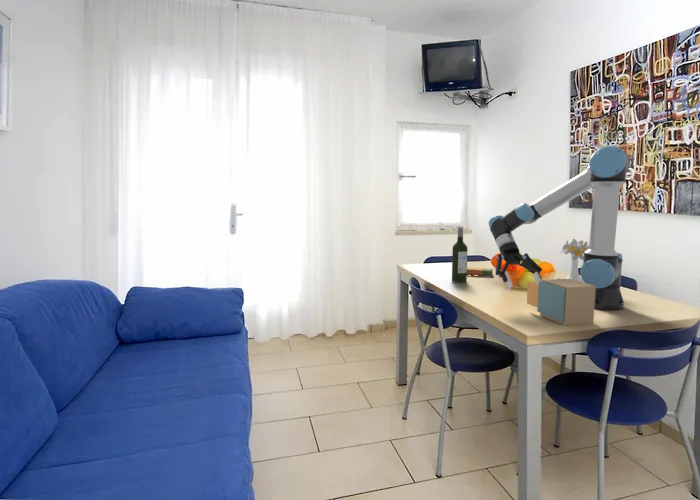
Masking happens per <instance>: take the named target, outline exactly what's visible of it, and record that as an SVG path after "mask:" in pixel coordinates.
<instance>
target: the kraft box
mask: <svg viewBox="0 0 700 500" xmlns="http://www.w3.org/2000/svg"><path fill="white" fill-rule="evenodd" d="M541 281H542V282H545V283H548V284H551V285H555V286H558V287H561V288H564V289H565V303H564V320H563V322H561V321H559V320H556V319H554V318H552V317H549V316H547V315H545V314H542V313H540V312H539V316H541V317H543V318H546V319H548V320H551V321H553V322H555V323H557V324H560V325H562V326H573V325H575V326H576V325H591V324H594V319H595V318H594V317H595V308H594V306H595V291H596V286H595V285H591V284H587V283H585V282H584V283H583V282H580V281H576V280H572V279H565V278H555V279H554V278H553V279H552V278H551V279H541Z"/></svg>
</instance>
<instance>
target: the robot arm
mask: <svg viewBox="0 0 700 500" xmlns="http://www.w3.org/2000/svg"><path fill="white" fill-rule="evenodd" d="M630 165H631V159H630V156H629V154H628V153H627V151H624V150H623V149H622V148H621V147H619V146H616V145H615V146H614V145H607V146H603V147H600V148H599V149H597V150H595V151H594V152H593V153H592V155H591V157H590V158H589V161H588V166H587V168H586V170H584V171H582V172H581V173H579V174H578V175H576V176H575V177H573V178H571V179H569V180H567V181H566V182H564V183H563V184H561V185H560V186H558V187H556V188H555V189H553V190H551V191H549V192H548V193H546V194H545V195H543V196H541V197H540V198H537V200H535V201H533V202H532V203H529V204H527V202H523V203H521V204H519V205H518V206H516V207H515V208H514V209H512V210H511V211H510V212H508V213H506V215H504V216H503V215H501V214H498V215H496V216H493V217H491V218H490V219H489V220H488V227H489V231H490V233H491V234H492V236H493V238H494V242H495V243H496V246H497V248H498V250H499V253H498V254H497V256H496V257H495V259H496V265H495V276H498V277H499V278H501V280H502V282H503V283H505V285H506V288H507V290H508V291H511V290H512V289H513V287H514V286H513V283H512V281H511V279H510V276H509V274H508V273H507V272H506V271H507V269H508V267H509V265H510V266H513V265H514V266H519V267H523V268H524V269H525V270H526V271H528V272H530V273H531V274H532V278H533V279H534V281H535V282H534V283H536V284H539V281H542V280H543V279H542V276H541V274H540V273H541V272H542V271H543V268H541V266H539V264H537V262H535V261H534V260H533V259H532V258H531V257H530V255H529V254H528V253H526V252H525V253H524V254H522V253H520V249H519V246H518V244H517V243H516V240H515V238H514V235H513V234H512V232H513V231H515V230H517V229H518V228H519V227H521V226H522V225H529V224H530V225H531V224H533V223H535V222H536V221H537V220H538V219H541V218H542V217H544V216H546V215H548V214H549V213H551V212H553V211H554V210H556V209H558V208H560V207H561V206H563V205H565V204H566V203H569V202H570V201H571V200H573V199H575V198H577V197H579V196H580V195H582V194H584V193H585V192H587V191H590V190H591V189H592V188H593V196H592V207H591V218H590V219H591V220H590V231H589V232H590V233H589V241H588V245H589V248H588V249H587V250H586V251H585V252H584V254H583V256H584V260H582V264H581V268H580V272H579V273H580V274H579V276H580V278H581V279H582V280H583V281H584V283H587V284H591V285H595V286H596V291H595V306H594V309H597V310H603V311H604V310H606V311H607V310H608V311H620V310H623V309H624V307H625V302H624V298H623V294H622V292H621V280H622V279H621V278H622V267H623V266H622V265H623V261H624V260H623V255H622V253H620V252H617V251H616V250H615V247H616V246H615V245H616V233H617V226H618V225H617V224H618V223H617V222H618V215H619V213H618V212H619V202H620V193H621V192H620V191H621V187H622V186H623V185H624V184H625V183H626V177H627V171H628V170H629V168H630ZM503 261H505V263H504V265H503V267H502V264H503Z"/></svg>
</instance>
